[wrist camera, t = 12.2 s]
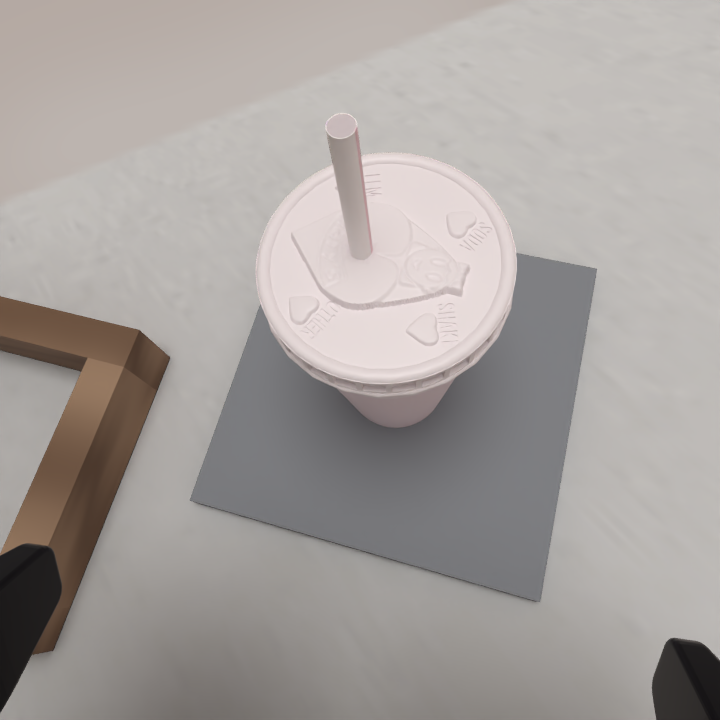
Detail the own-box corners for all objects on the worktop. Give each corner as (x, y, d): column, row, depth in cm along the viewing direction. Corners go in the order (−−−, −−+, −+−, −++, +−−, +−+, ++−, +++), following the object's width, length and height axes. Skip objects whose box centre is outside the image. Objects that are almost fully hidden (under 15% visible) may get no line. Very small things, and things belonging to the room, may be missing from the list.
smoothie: (346, 289, 25) (269, -29, 12) (498, 331, 24) (600, 27, 11) (290, 433, 23) (127, 244, 10) (453, 486, 22) (510, 351, 9)
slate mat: (536, 601, 21) (539, 602, 20) (195, 502, 23) (189, 500, 23) (593, 275, 25) (597, 268, 24) (296, 217, 27) (294, 210, 27)
